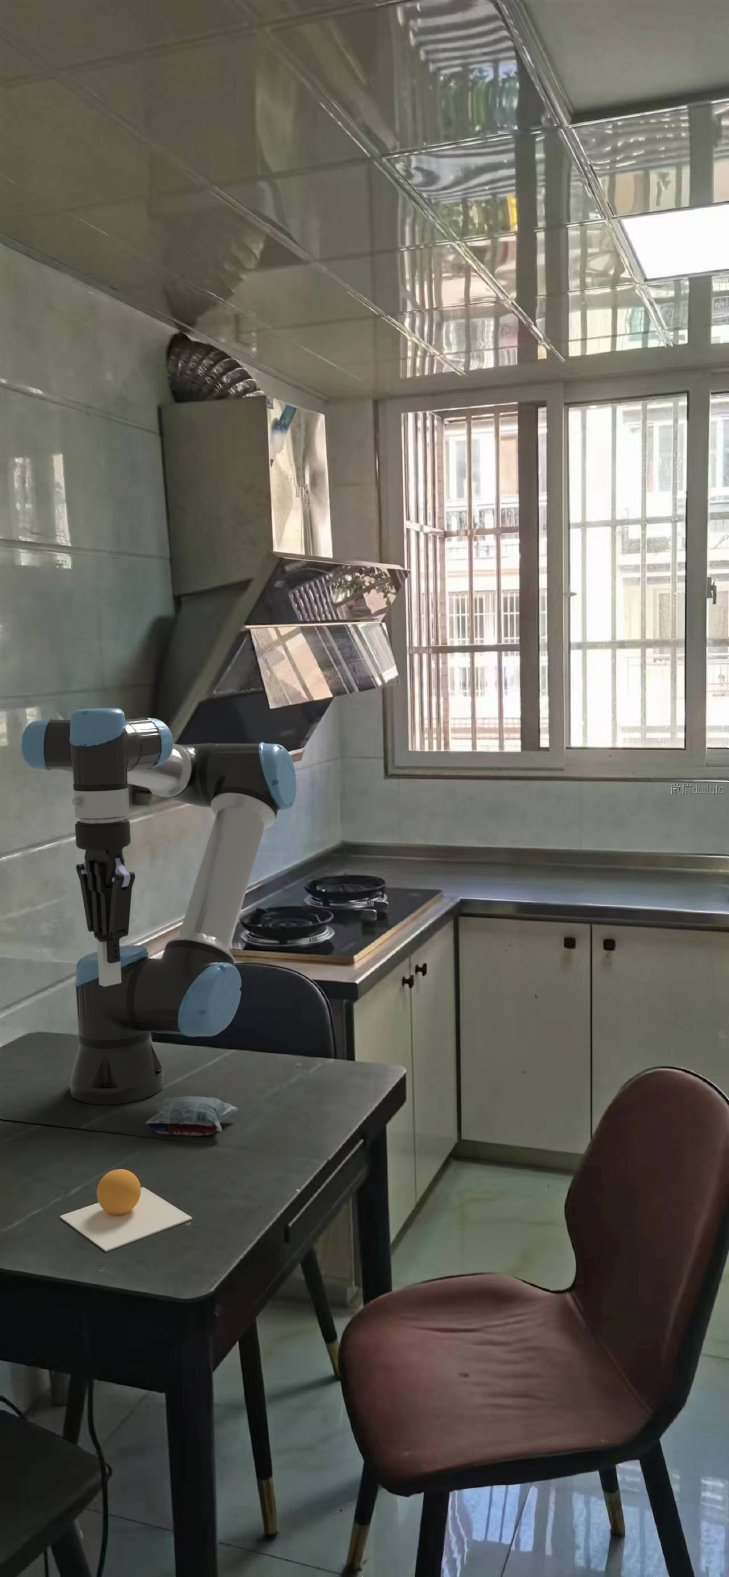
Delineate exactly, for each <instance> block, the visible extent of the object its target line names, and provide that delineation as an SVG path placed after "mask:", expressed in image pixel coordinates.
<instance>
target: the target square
mask: <svg viewBox="0 0 729 1577" xmlns="http://www.w3.org/2000/svg"><path fill="white" fill-rule="evenodd" d="M59 1218H60V1219H61V1220H63V1221H64V1222H65V1223H67V1224H68V1225H69V1226H71V1227H72V1228H73V1229H75V1230H76V1231H77V1232H79V1234H81V1235H83V1236H84V1237H85V1238H87V1239H89V1241H90V1242H92V1243H93V1244H95V1245H96V1246H98V1247H99V1248H100V1249H102V1250H103V1251H104V1252H106V1253H107V1252H109V1251H112V1250H115V1249H117V1248H120V1247H122V1246H125V1245H128V1244H130V1243H133V1242H135V1241H139V1240H141V1239H144V1238H147V1237H149V1236H152V1235H155V1234H156V1233H159V1232H162V1231H165V1230H167V1229H168V1230H169V1228H173V1227H175V1226H178V1225H180V1224H183V1223H187V1222H188V1221H191V1220H193V1217H192V1216H190V1215H189V1214H187V1213H186V1212H184V1211H182V1209H179V1208H178V1207H176V1206H174V1205H173V1204H171V1203H170V1202H168V1201H166V1200H165V1199H163V1198H162V1197H160V1196H159V1195H157V1194H155V1193H154V1192H152V1191H150V1190H149V1189H147V1188H145V1187H144V1186H142V1187H141V1195H140V1198H139V1201H138V1203H137V1204H136V1206H135V1207H134V1208H133V1209H132V1210H130V1211H129V1212H127V1213H125V1214H121V1215H114V1214H110V1213H108V1212H106V1211H105V1210H104V1209H103V1208H102V1207H101V1206H100V1204H99V1202H97V1203H94V1204H91V1205H88V1206H85V1207H82V1208H80V1209H76V1210H73V1211H71V1212H68V1213H65V1214H62V1215H60V1216H59Z"/></svg>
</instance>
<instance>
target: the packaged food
mask: <svg viewBox="0 0 729 1577" xmlns="http://www.w3.org/2000/svg"><path fill="white" fill-rule="evenodd" d="M238 1110H239V1109H238V1107H236V1106H233V1105H232V1104H230V1103H228V1102H224V1101H222V1099H221V1100H220V1098H216V1097H210V1096H198V1095H178V1096H173V1097H166V1098H164V1099H163V1100H162V1103H161V1104H160V1106H159V1107H158V1109H157V1111H156V1113H155V1114H154V1115H153V1116H151V1118H149V1119H148V1120H147V1121H146V1122H145V1123H144V1125H145V1126H146V1127H147V1128H149V1129H152V1130H153V1131H154V1132H155V1133H158V1134H159V1135H178V1136H180V1135H181V1136H192V1137H193V1136H194V1137H195V1136H210V1135H213V1134H215V1132H220V1133H223V1129H222V1125H221V1123H222V1122H223V1121H224V1120H226V1118H228V1117H229V1116H230V1115H232V1113H236V1112H237V1111H238Z"/></svg>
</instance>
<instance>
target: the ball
mask: <svg viewBox="0 0 729 1577" xmlns="http://www.w3.org/2000/svg"><path fill="white" fill-rule="evenodd" d="M141 1188H142V1187H141V1183H140V1180H139V1179H138V1177H137V1176H136V1175H135V1174H134V1173H133V1172H131V1171H130V1170H128V1169H123V1168H119V1169H113V1170H111V1171H109V1172H107V1173H105V1175H103V1176H102V1178H101V1179H100V1181H99V1183H98V1185H97V1188H96V1199H97V1203H99V1204H100V1206H101V1207H102V1208H103V1209H104V1210H105V1211H106V1212H108V1213H110V1214H114V1215H121V1214H125V1213H127V1212H129V1211H130V1210H132V1209H133V1208H134V1207H135V1206H136V1204H137V1203H138V1201H139V1198H140V1195H141Z"/></svg>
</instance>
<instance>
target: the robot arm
mask: <svg viewBox="0 0 729 1577" xmlns="http://www.w3.org/2000/svg"><path fill="white" fill-rule="evenodd" d="M173 737H174V736H173V734H172V732H171V729H170V728H169V727H168V725H167V724H165V722H164V721H162V720H160V719H158V718H154V717H153V718H152V717H137V718H126V716H125V713H124V710H122V709H120V708H117V707H116V708H115V707H112V708H111V707H110V708H109V707H105V708H104V707H103V708H102V707H99V708H82V709H77V710H74V711H73V712H72V713H71V715H70V719H53V718H47V719H42V720H40V719H39V720H33V721H31V722H29V723H28V724H27V726H26V727H25V728H24V730H23V732H22V736H21V744H20V748H21V753H22V757H23V759H24V761H25V762H26V763H27V765H29V767H31V768H32V769H33V768H34V769H37V770H45V771H51V770H57V771H59V770H60V771H64V772H65V771H66V772H69V773H70V772H71V773H72V778H73V780H72V781H73V783H72V788H73V798H72V799H71V803H72V804H73V807H74V817H75V818H76V819H77V820H78V821H76V822H75V824H74V829H75V830H74V831H75V832H74V833H75V846H76V847H77V849H80V850H84V851H85V852H84V862H83V863H78V864H76V866H75V870H76V873H77V876H78V879H79V882H80V883H79V884H80V891H81V896H82V901H83V909H84V914H85V920H86V926H87V930H88V932H90V933H92V932H93V936H94V938H95V939H96V944H97V948H96V949H97V951H95V952H91V953H89V954H86V955H84V956H83V957H81V958H80V959H79V960H78V961H77V963H76V965H75V982H74V987H75V996H76V999H75V1000H76V1014H77V1028H78V1029H77V1030H78V1031H77V1032H78V1050H77V1052H76V1056H75V1059H74V1064H73V1067H72V1071H71V1075H70V1080H69V1088H70V1089H69V1090H70V1092H69V1093H70V1095H71V1097H72V1098H73V1099H75V1100H76V1101H79V1102H82V1103H86V1104H91V1105H120V1104H126V1103H132V1102H137V1101H140V1100H144V1099H146V1098H149V1097H152V1096H153V1095H155V1094H157V1093H158V1092H160V1091H161V1090H162V1089H163V1088H164V1086H165V1076H164V1074H165V1073H164V1068H163V1066H162V1064H161V1060H160V1058H159V1056H158V1053H157V1051H156V1048H155V1045H154V1043H153V1040H152V1033H160V1034H168V1035H169V1034H170V1035H179V1036H186V1037H190V1038H194V1037H195V1038H196V1037H214V1036H216V1035H218V1034H220V1033H221V1032H223V1031H225V1029H226V1028H227V1027H228V1026H229V1025H230V1024H231V1022H232V1021H233V1019H234V1017H235V1015H236V1013H237V1010H238V1007H239V1005H240V1001H241V995H242V991H241V990H240V989H241V987H242V979H241V978H242V977H241V975H240V972H239V970H238V969H237V967H236V966H235V965H236V960H235V958H234V956H233V954H232V953H231V951H230V949H231V945H232V943H233V942H232V941H233V939H234V935H235V932H236V928H237V924H238V920H239V917H240V914H241V910H242V907H243V904H244V900H245V895H246V892H247V889H248V886H249V882H250V879H251V875H252V873H253V872H252V871H253V867H254V865H255V862H256V857H257V854H258V852H259V851H258V850H259V848H260V844H261V840H262V836H263V833H264V830H267V829H269V828H271V827H272V826H274V824H275V823H276V819H277V815H278V813H279V810H280V811H285V810H289V809H290V808H292V806H293V805H294V803H295V800H296V794H297V777H296V776H297V775H296V771H295V764H294V762H293V759H292V756H291V754H290V753H289V751H288V750H287V749H286V748H285V747H284V746H283V745H281V744H278V743H265V742H264V741H262V742H259V743H216V742H215V743H214V742H213V743H212V742H211V743H210V742H209V743H194V744H193V743H192V744H191V743H190V744H177V743H174V738H173ZM129 785H133V786H138V787H143V788H147V789H148V791H150V792H151V793H152V794H154V795H156V796H157V797H158V796H159V797H161V798H166V799H170V800H173V801H178V802H181V803H185V804H189V805H192V806H198V807H203V808H210V809H211V810H212V813H213V814H214V815H215V819H214V820H213V821H214V822H213V824H212V827H211V831H210V834H209V837H208V840H207V843H206V847H205V850H204V853H203V856H202V859H201V863H200V867H199V869H198V873H197V876H196V879H195V882H194V886H193V888H192V891H191V895H190V899H189V901H188V905H187V908H186V911H185V915H184V918H183V921H182V924H181V927H180V930H179V934H178V936H177V937H176V936H175V937H174V938H172V939H170V940H168V941H167V942H166V944H165V947H164V950H163V953H162V956H161V958H153V957H149V955H150V954H149V952H148V949H147V947H146V946H143V945H140V944H130V945H122V946H120V940H121V939H122V938H124V937H127V936H128V935H129V932H130V931H129V930H130V919H131V918H130V916H131V903H132V893H133V892H132V891H133V885H134V883H135V880H136V874H135V872H134V871H127V869H126V868H125V865H126V862H125V858H124V852H123V850H124V848H125V847H128V846H129V845H131V842H132V840H131V822H130V821H129V819H127V816H129V815H130V798H129V797H130V794H129Z"/></svg>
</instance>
